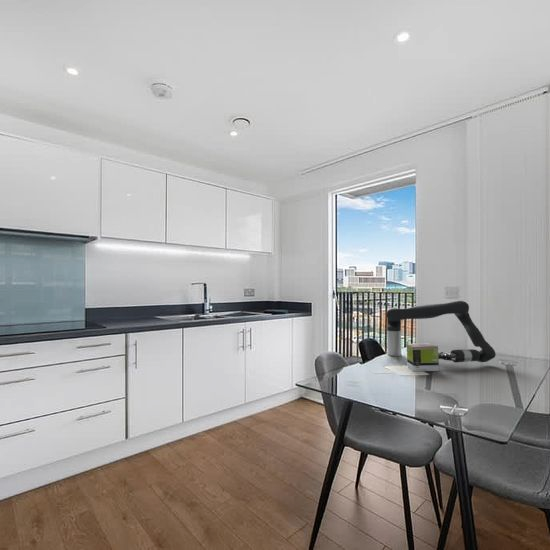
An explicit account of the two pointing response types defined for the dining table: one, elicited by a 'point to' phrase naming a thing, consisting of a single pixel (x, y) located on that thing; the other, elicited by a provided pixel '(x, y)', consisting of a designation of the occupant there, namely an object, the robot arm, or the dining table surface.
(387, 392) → the dining table surface
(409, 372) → the T mat
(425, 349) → the tea box
